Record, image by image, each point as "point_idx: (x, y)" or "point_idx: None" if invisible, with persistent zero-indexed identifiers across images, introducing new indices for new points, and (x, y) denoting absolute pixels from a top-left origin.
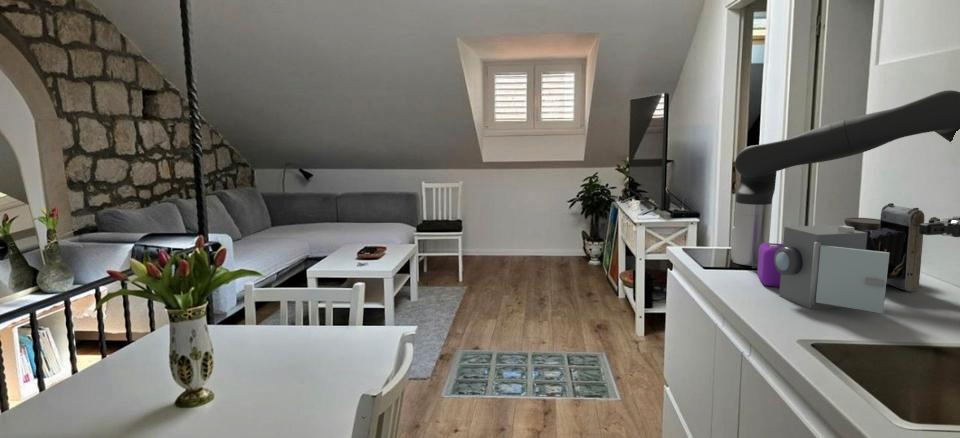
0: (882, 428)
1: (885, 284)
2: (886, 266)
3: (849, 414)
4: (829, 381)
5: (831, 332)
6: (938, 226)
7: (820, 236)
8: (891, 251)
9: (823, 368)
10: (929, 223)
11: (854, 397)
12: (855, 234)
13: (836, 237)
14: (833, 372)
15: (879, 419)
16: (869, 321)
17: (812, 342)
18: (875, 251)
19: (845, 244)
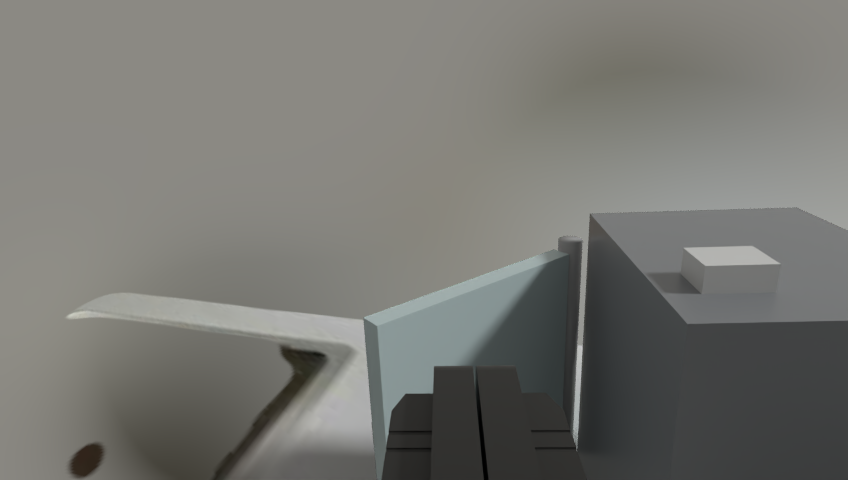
0: (93, 300)
1: (374, 445)
2: (372, 373)
3: (135, 295)
4: (201, 314)
5: (365, 412)
6: (386, 450)
7: (594, 225)
8: None
9: (235, 325)
10: (490, 409)
11: (152, 313)
12: (653, 292)
13: (615, 260)
14: (216, 328)
15: (103, 306)
16: None
17: (330, 359)
18: (414, 304)
19: (628, 317)
